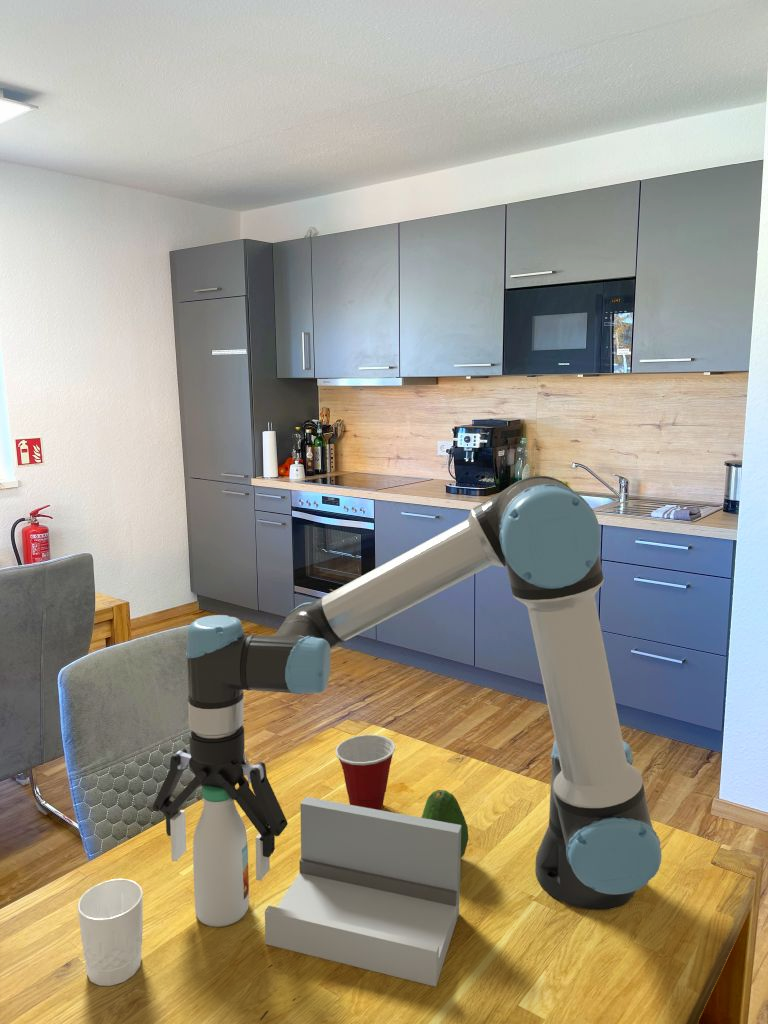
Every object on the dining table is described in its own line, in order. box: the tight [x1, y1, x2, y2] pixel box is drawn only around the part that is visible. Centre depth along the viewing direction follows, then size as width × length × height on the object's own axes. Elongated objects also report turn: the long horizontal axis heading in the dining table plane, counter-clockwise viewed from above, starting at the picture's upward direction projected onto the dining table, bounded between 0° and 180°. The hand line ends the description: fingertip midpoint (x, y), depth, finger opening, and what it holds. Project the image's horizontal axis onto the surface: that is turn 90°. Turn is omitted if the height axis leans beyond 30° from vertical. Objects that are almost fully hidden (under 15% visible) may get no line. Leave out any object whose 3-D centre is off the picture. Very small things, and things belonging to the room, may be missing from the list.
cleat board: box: [264, 796, 462, 988], centre depth 105 cm, size 24×14×14 cm, turn 72°
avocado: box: [421, 789, 469, 860], centre depth 120 cm, size 8×8×12 cm
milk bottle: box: [192, 785, 250, 928], centre depth 108 cm, size 8×8×20 cm
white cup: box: [77, 878, 144, 987], centre depth 98 cm, size 8×8×10 cm
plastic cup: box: [334, 734, 396, 811], centre depth 135 cm, size 11×11×12 cm
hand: (220, 865), depth 108 cm, fingers open, 13 cm apart
